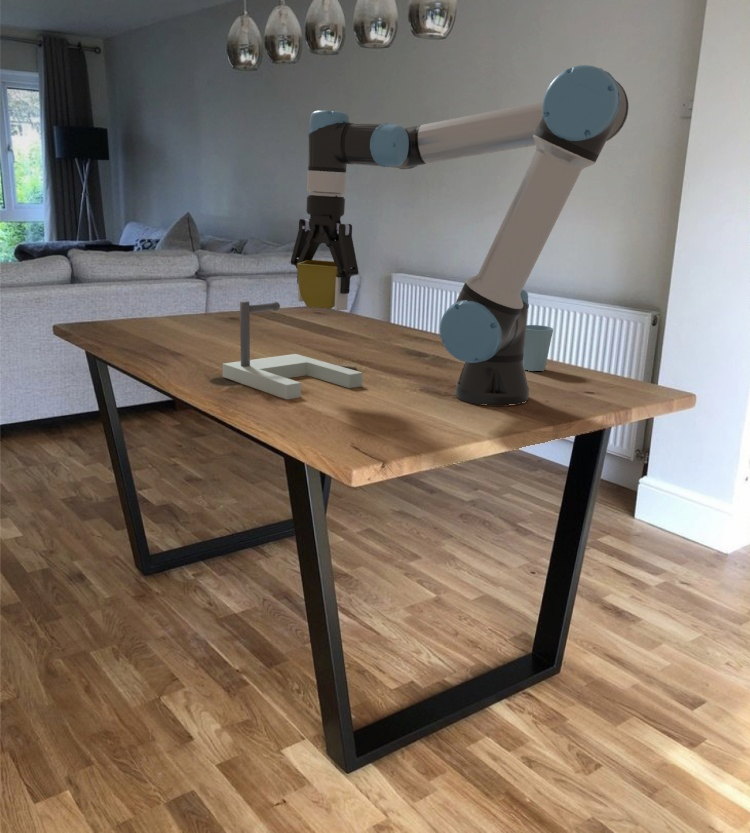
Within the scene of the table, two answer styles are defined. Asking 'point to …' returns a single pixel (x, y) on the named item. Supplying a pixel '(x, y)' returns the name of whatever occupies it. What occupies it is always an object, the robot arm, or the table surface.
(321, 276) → the flower pot
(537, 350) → the cup
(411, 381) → the table surface
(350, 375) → the l-shaped hook stand
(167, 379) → the table surface
